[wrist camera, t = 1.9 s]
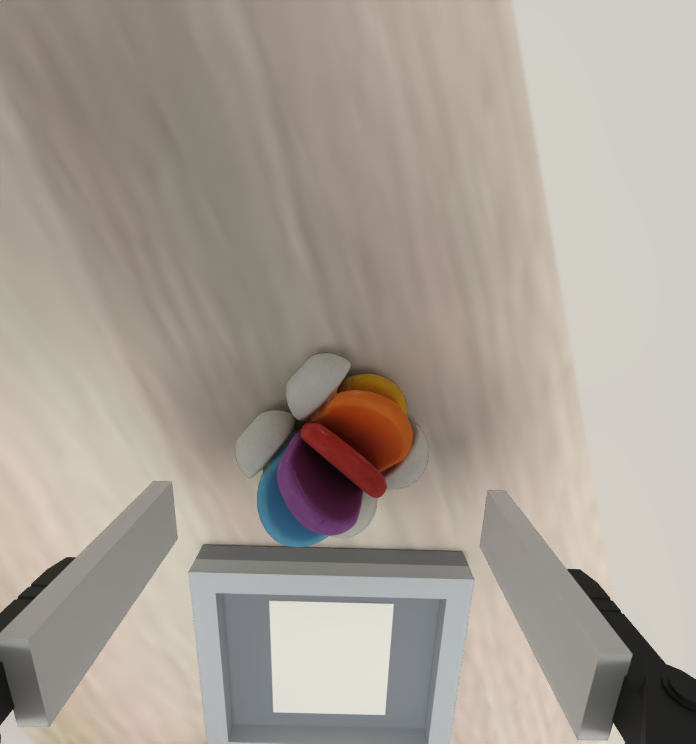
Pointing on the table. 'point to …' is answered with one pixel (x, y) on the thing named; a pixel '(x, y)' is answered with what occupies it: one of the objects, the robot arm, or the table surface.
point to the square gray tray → (329, 643)
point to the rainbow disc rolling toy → (330, 452)
